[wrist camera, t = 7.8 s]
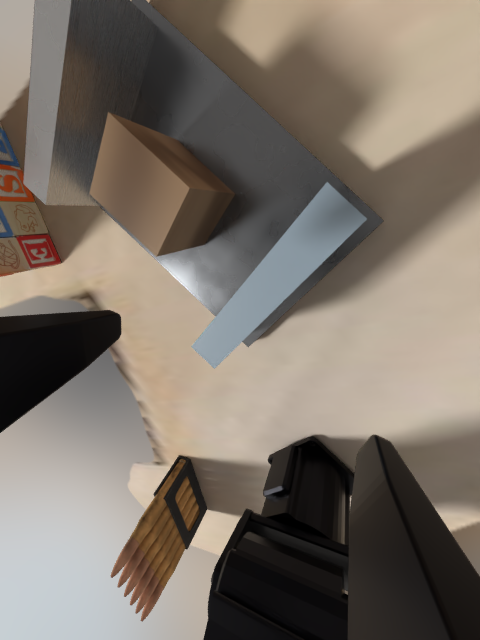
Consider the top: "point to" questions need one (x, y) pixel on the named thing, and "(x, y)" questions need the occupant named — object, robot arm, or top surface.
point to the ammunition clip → (161, 536)
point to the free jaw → (281, 272)
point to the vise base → (174, 121)
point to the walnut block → (157, 187)
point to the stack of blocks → (20, 220)
